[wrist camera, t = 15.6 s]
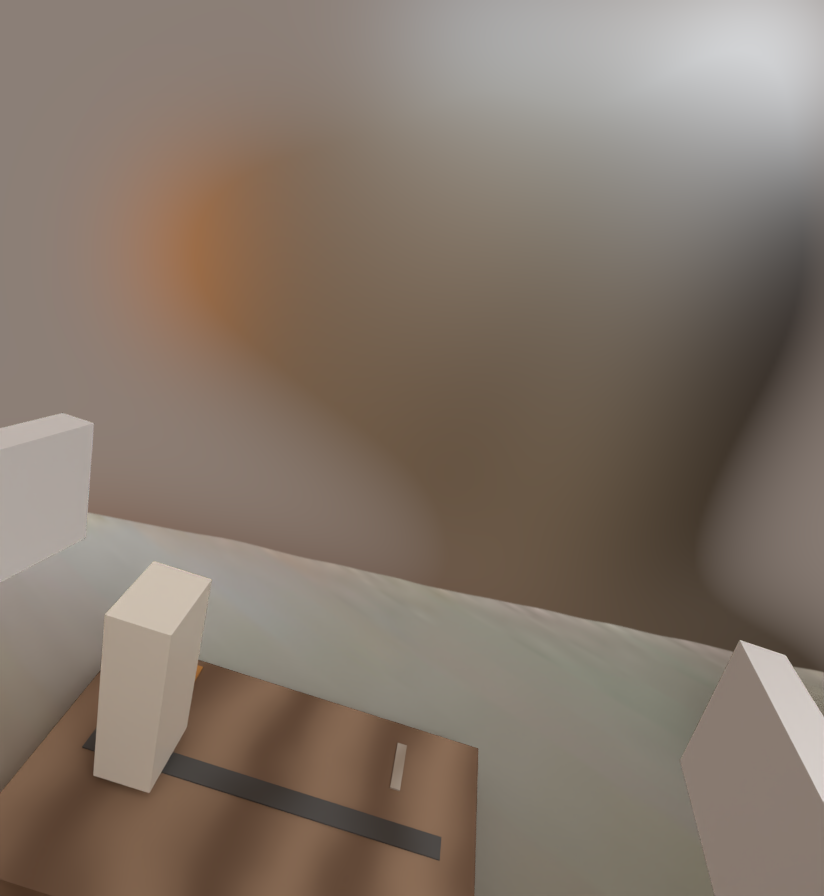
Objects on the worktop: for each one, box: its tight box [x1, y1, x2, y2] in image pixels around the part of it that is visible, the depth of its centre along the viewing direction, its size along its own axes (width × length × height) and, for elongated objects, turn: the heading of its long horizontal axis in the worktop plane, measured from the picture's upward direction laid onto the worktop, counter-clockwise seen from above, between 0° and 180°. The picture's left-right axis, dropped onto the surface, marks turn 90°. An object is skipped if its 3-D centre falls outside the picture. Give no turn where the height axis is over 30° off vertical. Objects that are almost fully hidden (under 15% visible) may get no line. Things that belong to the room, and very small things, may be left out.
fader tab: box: [93, 561, 212, 793], centre depth 29 cm, size 3×4×11 cm
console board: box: [0, 660, 478, 896], centre depth 32 cm, size 24×14×2 cm, turn 82°
